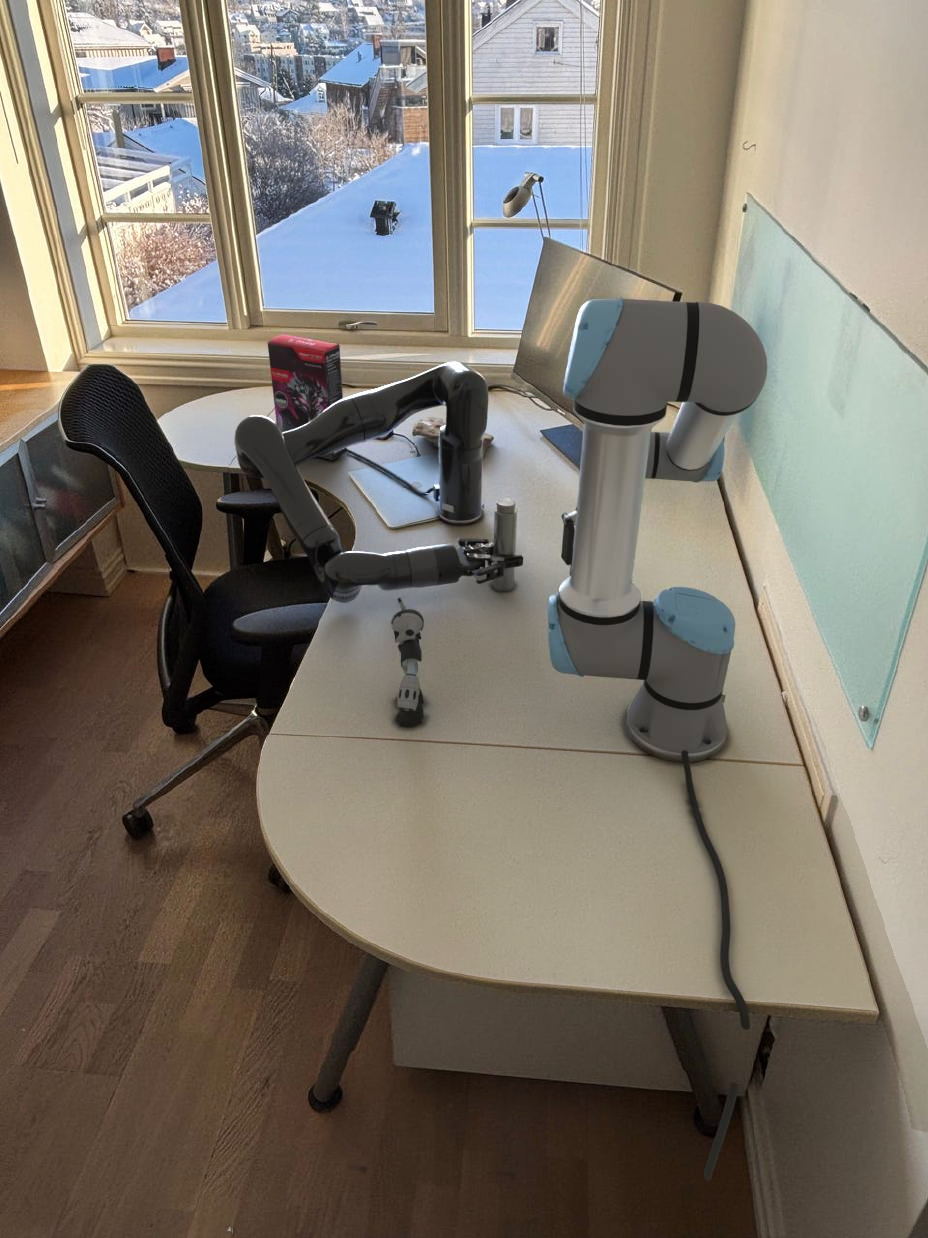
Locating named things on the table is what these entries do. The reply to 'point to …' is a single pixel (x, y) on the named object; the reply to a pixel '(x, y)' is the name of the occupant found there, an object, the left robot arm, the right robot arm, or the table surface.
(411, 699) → the robot
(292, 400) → the graphics card box
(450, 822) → the table surface
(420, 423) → the stone
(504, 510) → the grey capped cylinder
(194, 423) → the table surface
